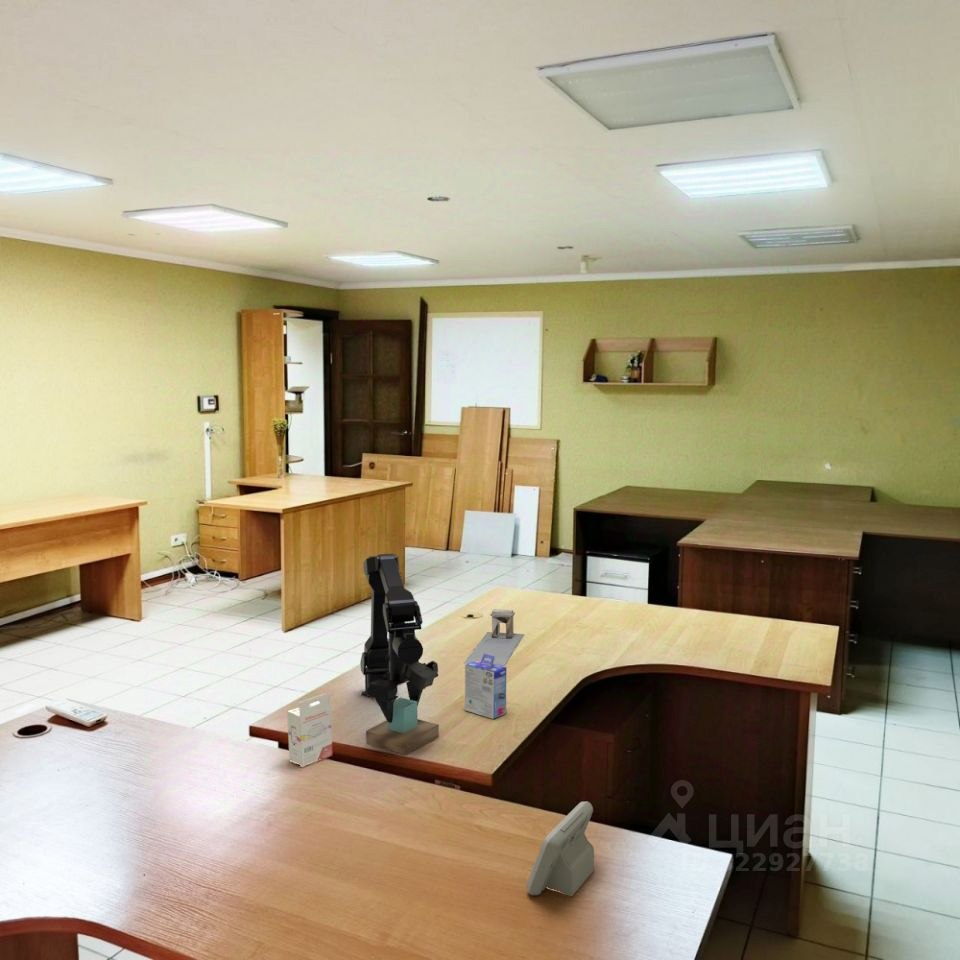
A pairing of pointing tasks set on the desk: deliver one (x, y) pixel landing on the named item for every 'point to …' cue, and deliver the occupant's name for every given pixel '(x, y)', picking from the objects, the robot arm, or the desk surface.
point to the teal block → (403, 715)
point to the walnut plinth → (402, 737)
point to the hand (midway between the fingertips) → (402, 716)
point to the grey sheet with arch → (497, 640)
